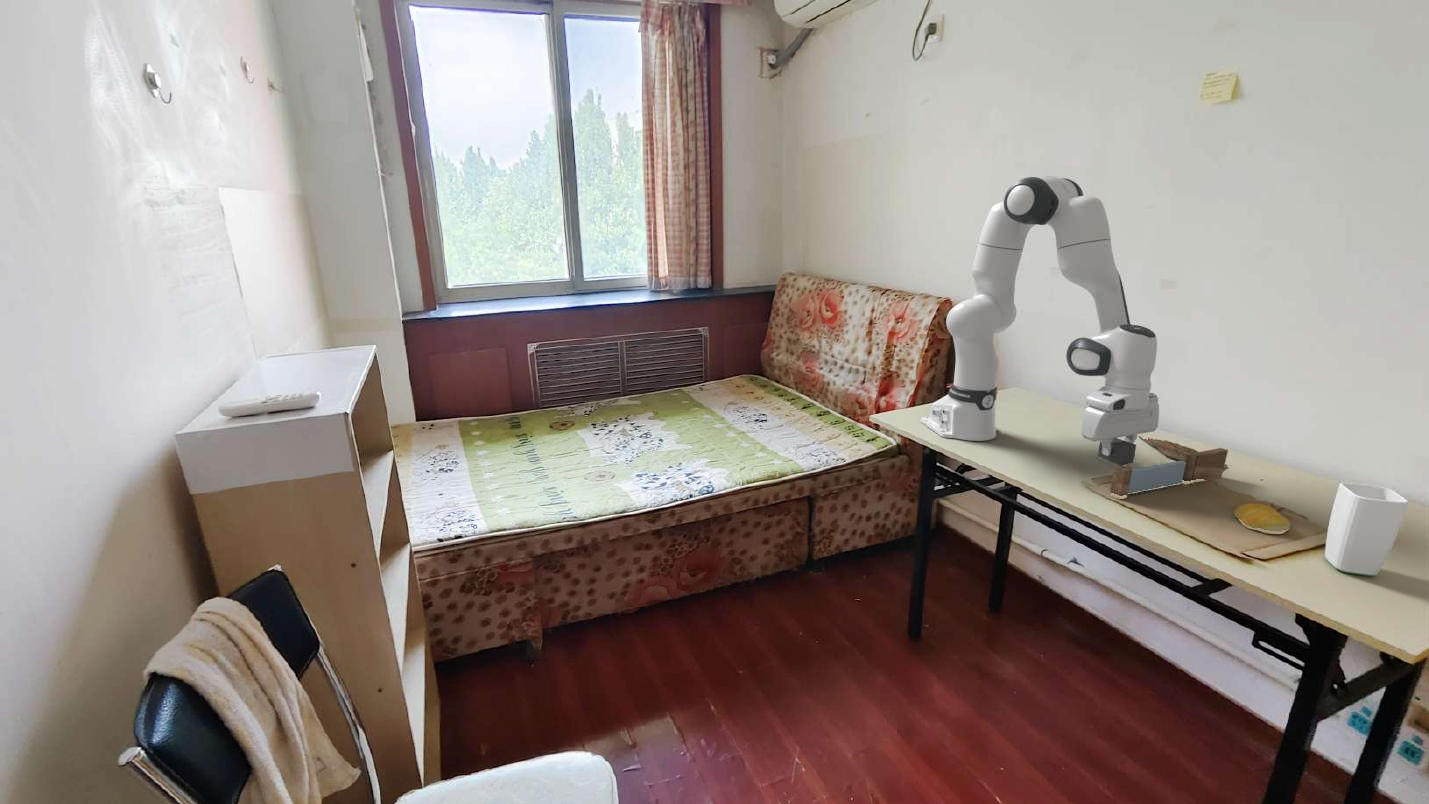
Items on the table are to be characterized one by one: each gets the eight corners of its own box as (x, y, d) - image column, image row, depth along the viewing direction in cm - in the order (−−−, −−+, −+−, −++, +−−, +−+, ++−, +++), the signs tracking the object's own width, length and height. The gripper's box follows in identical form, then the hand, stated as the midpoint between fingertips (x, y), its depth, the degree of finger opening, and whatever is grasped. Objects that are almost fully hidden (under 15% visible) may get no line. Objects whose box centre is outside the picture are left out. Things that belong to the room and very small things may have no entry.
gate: (1121, 493, 144) (1126, 470, 143) (1176, 482, 150) (1180, 460, 148) (1126, 495, 143) (1131, 472, 142) (1181, 484, 149) (1186, 462, 147)
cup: (1333, 574, 113) (1357, 497, 108) (1314, 554, 119) (1335, 481, 115) (1387, 582, 110) (1414, 504, 106) (1364, 561, 117) (1388, 486, 112)
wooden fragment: (1240, 473, 156) (1241, 468, 156) (1197, 474, 155) (1198, 470, 155) (1161, 437, 181) (1162, 433, 180) (1124, 438, 180) (1125, 434, 180)
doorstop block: (1097, 456, 153) (1100, 438, 152) (1110, 454, 154) (1112, 436, 153) (1120, 465, 148) (1123, 447, 147) (1133, 463, 149) (1136, 444, 148)
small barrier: (1109, 495, 144) (1114, 466, 142) (1212, 474, 154) (1219, 447, 152) (1119, 499, 142) (1124, 470, 140) (1223, 478, 152) (1229, 450, 150)
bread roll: (1249, 534, 127) (1254, 516, 126) (1227, 514, 135) (1231, 497, 134) (1299, 539, 125) (1304, 520, 124) (1273, 518, 133) (1277, 500, 132)
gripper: (1145, 388, 153) (1135, 443, 157) (1080, 397, 146) (1071, 454, 150) (1171, 395, 147) (1160, 451, 151) (1104, 405, 141) (1095, 463, 145)
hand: (1115, 453), depth 151 cm, fingers closed on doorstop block, 4 cm apart
